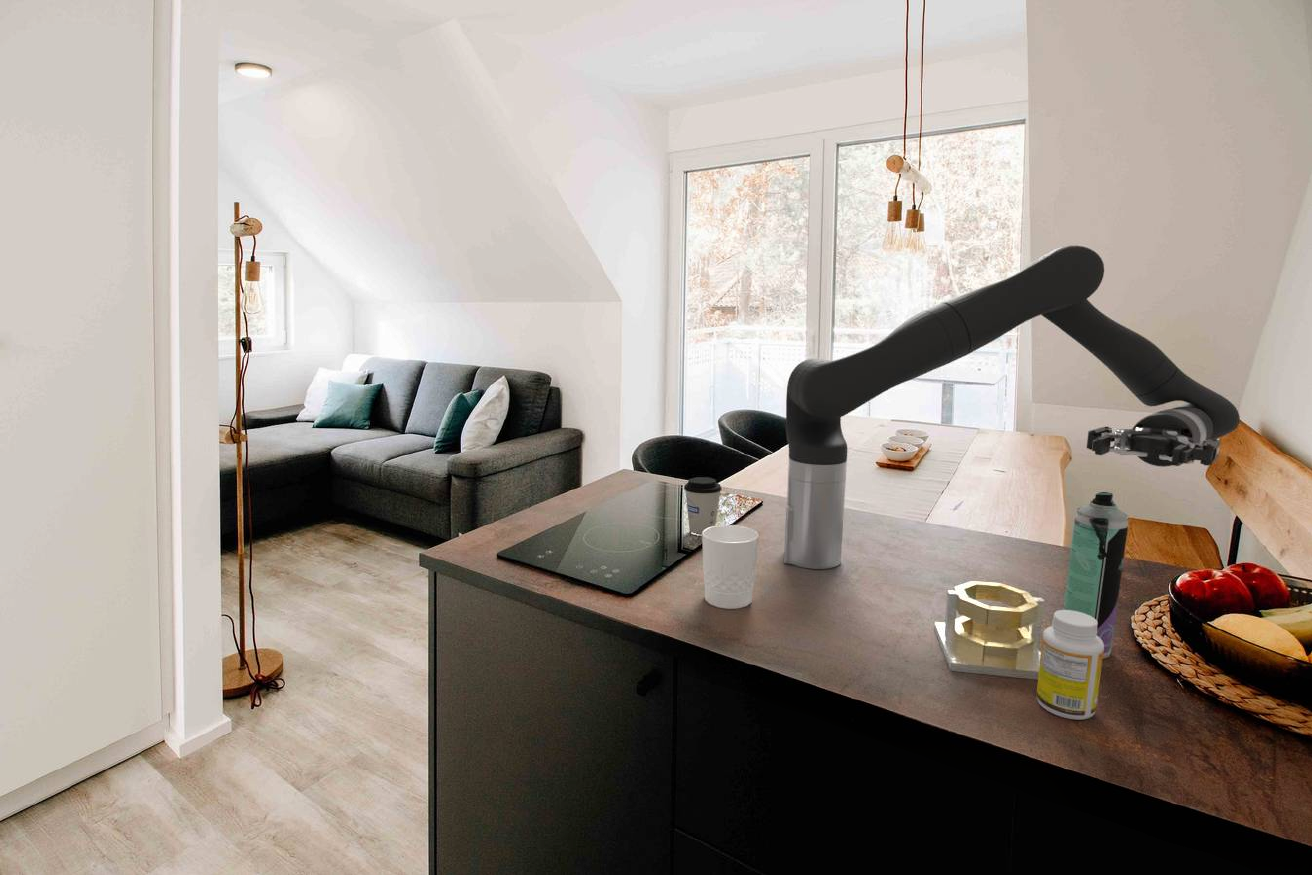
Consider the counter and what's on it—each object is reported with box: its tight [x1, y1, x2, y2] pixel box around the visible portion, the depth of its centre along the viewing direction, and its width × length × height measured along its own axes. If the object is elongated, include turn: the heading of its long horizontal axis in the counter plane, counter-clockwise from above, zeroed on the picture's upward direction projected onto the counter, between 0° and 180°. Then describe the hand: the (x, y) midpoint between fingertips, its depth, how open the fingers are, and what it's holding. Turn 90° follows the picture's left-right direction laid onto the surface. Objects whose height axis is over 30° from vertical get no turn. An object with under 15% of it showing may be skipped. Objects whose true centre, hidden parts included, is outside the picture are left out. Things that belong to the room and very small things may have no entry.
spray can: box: [1063, 491, 1129, 659], centre depth 86 cm, size 6×6×20 cm
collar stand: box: [933, 580, 1045, 681], centre depth 86 cm, size 11×11×8 cm
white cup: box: [701, 524, 759, 610], centre depth 101 cm, size 8×8×10 cm
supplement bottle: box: [1035, 609, 1104, 721], centre depth 74 cm, size 6×6×10 cm
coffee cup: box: [683, 476, 722, 534], centre depth 131 cm, size 7×7×10 cm
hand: (1135, 452), depth 91 cm, fingers open, 8 cm apart
